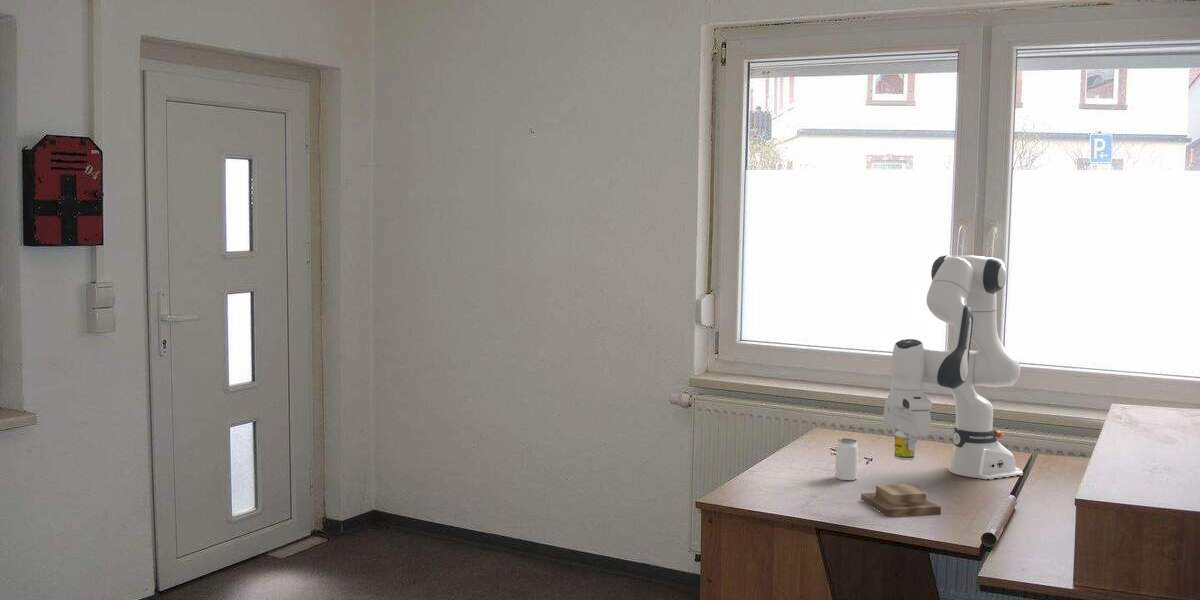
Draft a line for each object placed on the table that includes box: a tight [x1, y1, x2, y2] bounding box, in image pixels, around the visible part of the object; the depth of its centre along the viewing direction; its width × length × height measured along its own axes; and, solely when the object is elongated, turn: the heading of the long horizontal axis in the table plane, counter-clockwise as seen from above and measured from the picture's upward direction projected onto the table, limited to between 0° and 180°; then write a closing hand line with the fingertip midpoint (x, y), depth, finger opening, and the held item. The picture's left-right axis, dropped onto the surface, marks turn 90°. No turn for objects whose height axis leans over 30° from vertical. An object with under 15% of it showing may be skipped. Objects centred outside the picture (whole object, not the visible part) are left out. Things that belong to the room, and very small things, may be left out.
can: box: [835, 438, 859, 481], centre depth 323 cm, size 6×6×12 cm
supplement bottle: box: [894, 424, 916, 461], centre depth 291 cm, size 5×5×10 cm
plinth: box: [860, 483, 942, 517], centre depth 293 cm, size 16×16×5 cm
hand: (904, 446), depth 291 cm, fingers closed on supplement bottle, 5 cm apart
